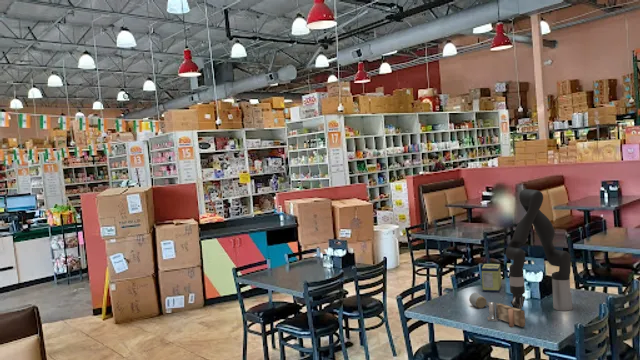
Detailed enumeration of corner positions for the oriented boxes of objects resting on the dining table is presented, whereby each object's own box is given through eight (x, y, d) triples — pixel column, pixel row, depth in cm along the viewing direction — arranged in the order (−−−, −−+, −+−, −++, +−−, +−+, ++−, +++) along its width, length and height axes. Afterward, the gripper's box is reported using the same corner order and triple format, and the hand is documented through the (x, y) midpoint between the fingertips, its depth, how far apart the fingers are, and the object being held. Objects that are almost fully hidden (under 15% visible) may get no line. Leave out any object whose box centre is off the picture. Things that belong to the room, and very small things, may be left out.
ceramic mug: (476, 309, 308) (476, 296, 308) (469, 305, 316) (468, 293, 316) (492, 307, 311) (492, 294, 311) (484, 303, 319) (484, 291, 319)
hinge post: (496, 318, 291) (495, 301, 290) (497, 321, 286) (496, 303, 285) (487, 318, 292) (486, 301, 291) (488, 321, 287) (487, 304, 286)
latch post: (513, 325, 277) (512, 308, 277) (514, 327, 275) (513, 310, 274) (508, 325, 278) (507, 308, 277) (509, 327, 275) (508, 310, 275)
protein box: (501, 286, 353) (500, 263, 352) (499, 292, 339) (498, 268, 338) (485, 285, 357) (484, 263, 356) (482, 292, 343) (481, 268, 342)
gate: (495, 317, 289) (494, 303, 288) (498, 316, 290) (497, 302, 289) (521, 326, 271) (521, 311, 271) (525, 325, 272) (524, 310, 272)
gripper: (518, 287, 276) (520, 320, 277) (529, 282, 286) (530, 313, 286) (504, 286, 281) (506, 318, 282) (515, 280, 291) (517, 311, 292)
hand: (519, 315), depth 284 cm, fingers closed
